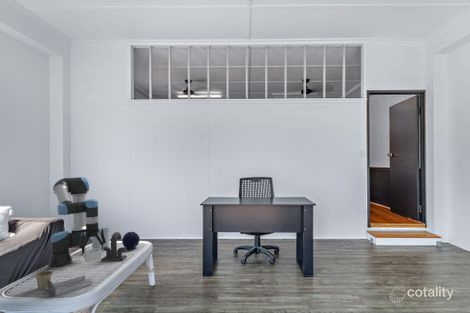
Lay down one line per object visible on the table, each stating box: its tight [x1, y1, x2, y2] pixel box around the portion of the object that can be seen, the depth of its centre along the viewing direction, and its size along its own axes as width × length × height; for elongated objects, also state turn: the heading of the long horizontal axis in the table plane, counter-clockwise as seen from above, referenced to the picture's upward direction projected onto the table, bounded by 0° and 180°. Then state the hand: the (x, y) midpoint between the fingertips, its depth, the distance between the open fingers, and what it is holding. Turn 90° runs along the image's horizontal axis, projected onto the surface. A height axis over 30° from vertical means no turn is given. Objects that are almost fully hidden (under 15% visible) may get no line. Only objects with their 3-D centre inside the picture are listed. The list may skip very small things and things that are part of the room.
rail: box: [47, 275, 93, 297], centre depth 179 cm, size 13×21×5 cm, turn 134°
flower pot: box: [34, 270, 54, 291], centre depth 179 cm, size 9×9×9 cm
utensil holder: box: [91, 226, 111, 252], centre depth 256 cm, size 15×15×18 cm
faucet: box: [100, 231, 128, 262], centre depth 232 cm, size 18×16×20 cm
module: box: [83, 248, 102, 263], centre depth 195 cm, size 6×9×6 cm, turn 130°
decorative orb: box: [121, 231, 140, 250], centre depth 256 cm, size 14×15×15 cm
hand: (92, 256), depth 195 cm, fingers closed on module, 9 cm apart
